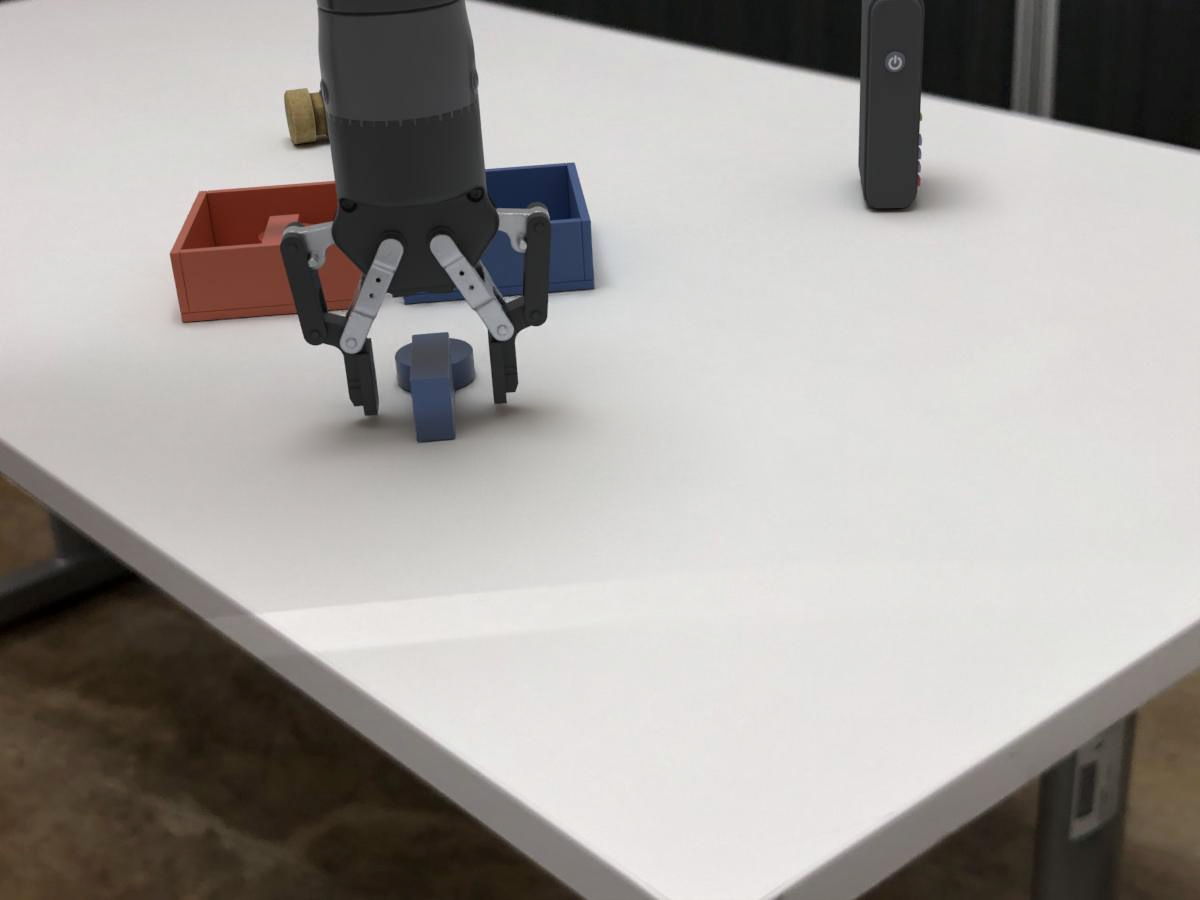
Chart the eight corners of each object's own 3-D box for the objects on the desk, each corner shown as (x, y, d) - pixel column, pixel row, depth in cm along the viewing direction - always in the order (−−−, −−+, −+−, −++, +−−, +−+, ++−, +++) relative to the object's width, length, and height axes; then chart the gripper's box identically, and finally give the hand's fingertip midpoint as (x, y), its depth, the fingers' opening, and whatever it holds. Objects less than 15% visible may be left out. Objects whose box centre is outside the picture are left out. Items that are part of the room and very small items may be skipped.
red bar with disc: (318, 295, 100) (310, 242, 99) (248, 300, 100) (240, 248, 99) (328, 242, 110) (321, 194, 108) (264, 247, 109) (257, 199, 108)
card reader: (921, 212, 111) (930, -5, 104) (863, 214, 111) (868, -3, 104) (911, 174, 119) (918, -29, 112) (857, 176, 119) (861, -27, 112)
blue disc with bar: (478, 437, 82) (472, 375, 80) (393, 444, 82) (386, 383, 80) (474, 359, 91) (469, 303, 90) (398, 366, 91) (391, 309, 89)
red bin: (182, 322, 99) (169, 253, 97) (209, 254, 111) (198, 191, 109) (375, 306, 100) (367, 237, 98) (382, 240, 111) (375, 177, 109)
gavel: (447, 143, 121) (318, 161, 119) (452, 199, 123) (326, 217, 121) (394, 70, 138) (281, 84, 136) (399, 120, 141) (288, 135, 138)
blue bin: (404, 304, 100) (396, 235, 98) (407, 238, 112) (400, 175, 110) (594, 288, 100) (590, 219, 98) (578, 224, 112) (574, 162, 110)
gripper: (543, 66, 81) (564, 365, 88) (261, 88, 80) (306, 387, 87) (552, 102, 74) (574, 422, 81) (245, 125, 73) (295, 446, 80)
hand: (435, 403), depth 84 cm, fingers open, 6 cm apart
